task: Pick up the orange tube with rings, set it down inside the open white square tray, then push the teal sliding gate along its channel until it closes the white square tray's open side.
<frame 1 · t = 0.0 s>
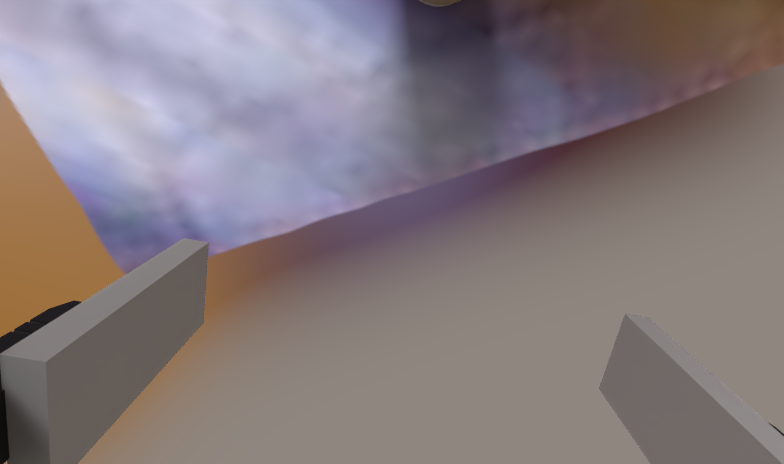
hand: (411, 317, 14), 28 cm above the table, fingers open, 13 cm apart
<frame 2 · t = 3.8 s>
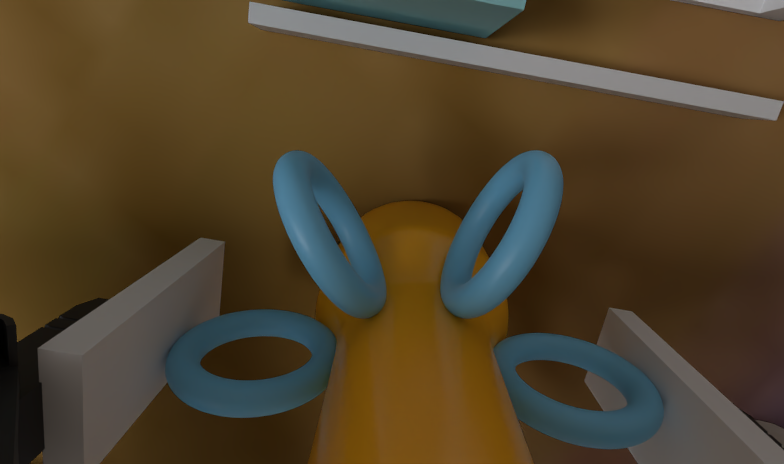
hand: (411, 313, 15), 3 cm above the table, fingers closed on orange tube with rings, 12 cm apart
orange tube with rings: (407, 271, 18), on the table, touching gripper
when the fingers open (5 cm above the table, at t = 9.6 s): orange tube with rings drops 1 cm, resting on white square tray.
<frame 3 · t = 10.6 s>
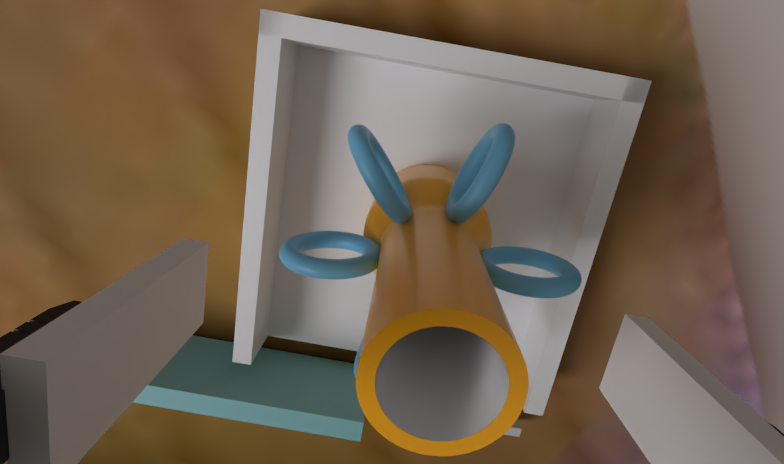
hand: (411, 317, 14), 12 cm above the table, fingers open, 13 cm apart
orange tube with rings: (423, 217, 25), resting on white square tray
gate: (205, 378, 25), point 3 cm above the table, slide at 10.0 cm
white square tray: (415, 230, 26), on the table
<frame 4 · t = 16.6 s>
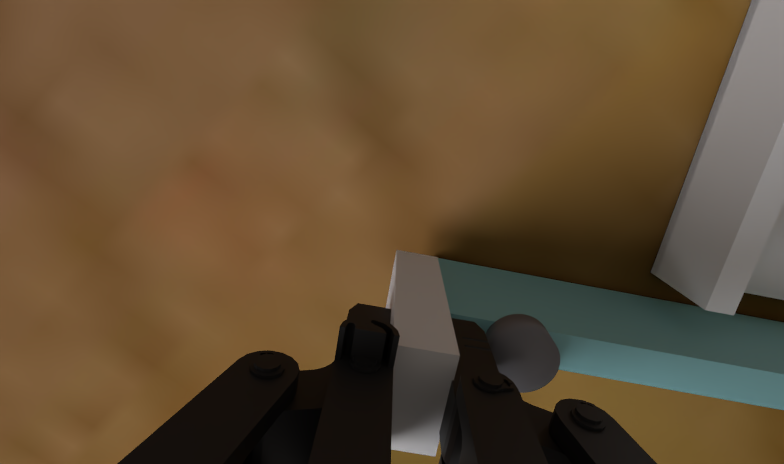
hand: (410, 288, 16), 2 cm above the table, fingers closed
gate: (683, 347, 16), point 3 cm above the table, slide at 8.5 cm, touching gripper
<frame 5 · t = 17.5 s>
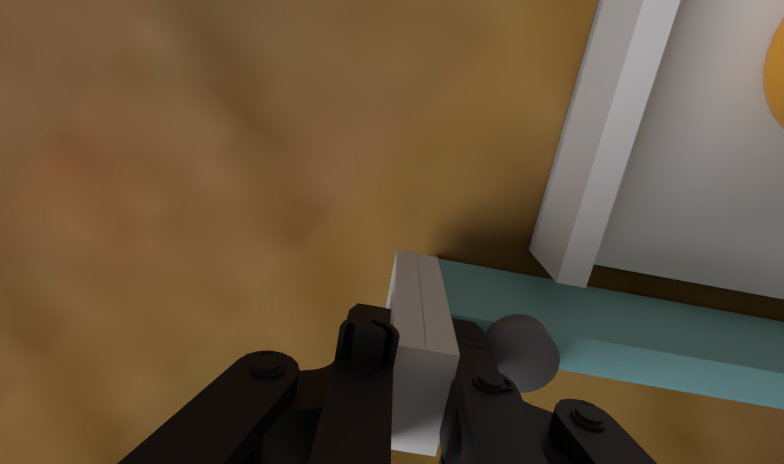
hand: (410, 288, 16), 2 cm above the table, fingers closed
gate: (682, 347, 16), point 3 cm above the table, slide at 3.4 cm, touching gripper
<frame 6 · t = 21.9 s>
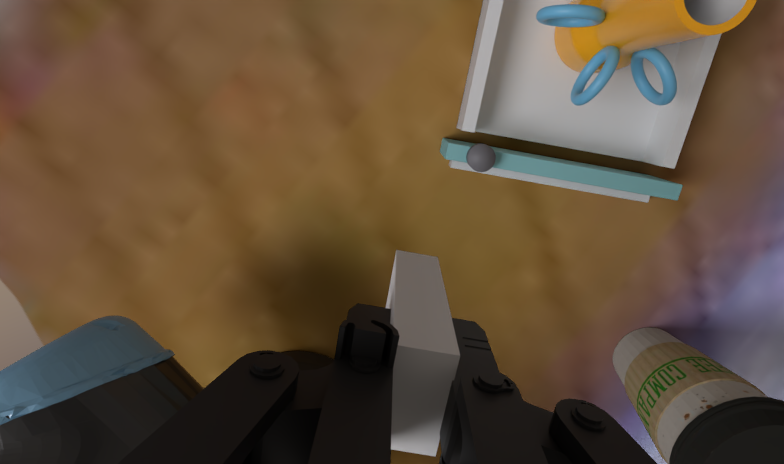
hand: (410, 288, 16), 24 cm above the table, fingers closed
orange tube with rings: (589, 34, 36), resting on white square tray
coffee cup: (643, 355, 44), on the table
gate: (555, 168, 36), point 3 cm above the table, slide at 0.5 cm
white square tray: (581, 46, 37), on the table
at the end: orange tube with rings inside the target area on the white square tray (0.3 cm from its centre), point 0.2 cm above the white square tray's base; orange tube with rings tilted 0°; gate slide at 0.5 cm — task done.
